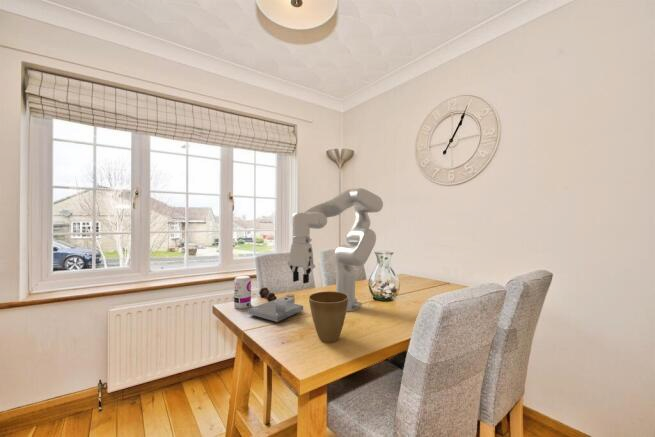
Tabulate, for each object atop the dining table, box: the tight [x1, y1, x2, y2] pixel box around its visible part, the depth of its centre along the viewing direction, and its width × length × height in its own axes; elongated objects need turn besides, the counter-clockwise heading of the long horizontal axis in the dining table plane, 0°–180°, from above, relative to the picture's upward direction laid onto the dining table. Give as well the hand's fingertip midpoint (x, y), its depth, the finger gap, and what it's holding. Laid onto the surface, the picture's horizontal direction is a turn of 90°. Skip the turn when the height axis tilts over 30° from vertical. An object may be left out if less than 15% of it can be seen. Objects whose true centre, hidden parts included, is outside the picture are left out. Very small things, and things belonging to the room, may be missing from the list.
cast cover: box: [276, 295, 295, 313], centre depth 129 cm, size 6×6×5 cm
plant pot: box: [308, 290, 348, 343], centre depth 107 cm, size 15×15×16 cm
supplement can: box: [233, 275, 252, 310], centre depth 143 cm, size 8×8×15 cm
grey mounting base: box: [247, 293, 304, 323], centre depth 133 cm, size 18×20×7 cm
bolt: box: [258, 287, 278, 302], centre depth 156 cm, size 6×5×15 cm
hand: (300, 281), depth 124 cm, fingers open, 4 cm apart
